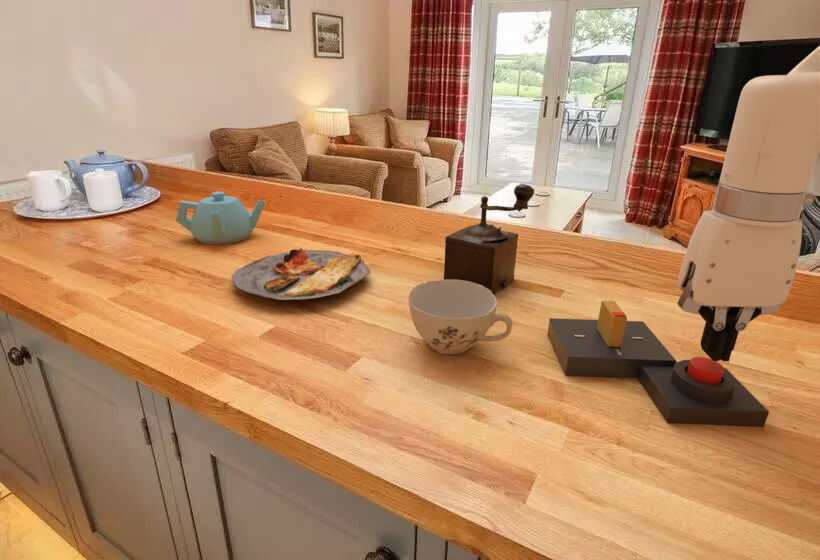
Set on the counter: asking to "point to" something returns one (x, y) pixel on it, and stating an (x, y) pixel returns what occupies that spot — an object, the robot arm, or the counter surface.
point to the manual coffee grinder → (485, 248)
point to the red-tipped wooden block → (611, 323)
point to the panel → (605, 349)
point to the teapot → (219, 219)
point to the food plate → (300, 274)
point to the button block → (700, 398)
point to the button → (705, 370)
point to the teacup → (455, 314)
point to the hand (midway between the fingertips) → (714, 354)
